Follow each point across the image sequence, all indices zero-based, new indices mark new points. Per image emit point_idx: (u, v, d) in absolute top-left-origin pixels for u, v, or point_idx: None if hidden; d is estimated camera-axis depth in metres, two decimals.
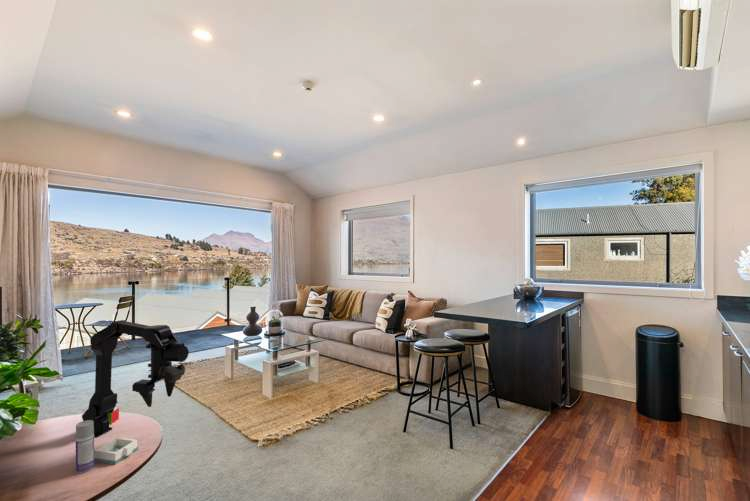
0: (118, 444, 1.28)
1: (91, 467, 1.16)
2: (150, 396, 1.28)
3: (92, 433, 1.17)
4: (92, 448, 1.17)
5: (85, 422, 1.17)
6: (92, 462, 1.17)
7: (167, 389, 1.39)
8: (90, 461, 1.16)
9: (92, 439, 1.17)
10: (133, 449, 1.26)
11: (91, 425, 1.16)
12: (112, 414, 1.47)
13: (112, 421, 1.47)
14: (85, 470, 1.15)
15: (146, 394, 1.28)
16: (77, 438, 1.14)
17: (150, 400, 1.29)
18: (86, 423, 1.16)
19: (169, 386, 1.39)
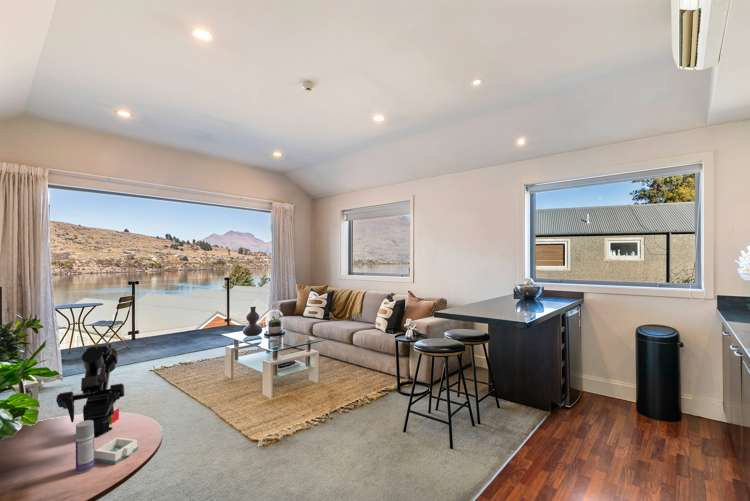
0: (118, 444, 1.28)
1: (91, 467, 1.16)
2: (69, 408, 1.22)
3: (92, 433, 1.17)
4: (92, 448, 1.17)
5: (85, 422, 1.17)
6: (92, 462, 1.17)
7: None
8: (90, 461, 1.16)
9: (92, 439, 1.17)
10: (133, 449, 1.26)
11: (91, 425, 1.16)
12: (112, 414, 1.47)
13: (112, 421, 1.47)
14: (85, 470, 1.15)
15: None
16: (77, 438, 1.14)
17: (70, 413, 1.21)
18: (86, 423, 1.16)
19: (107, 404, 1.28)
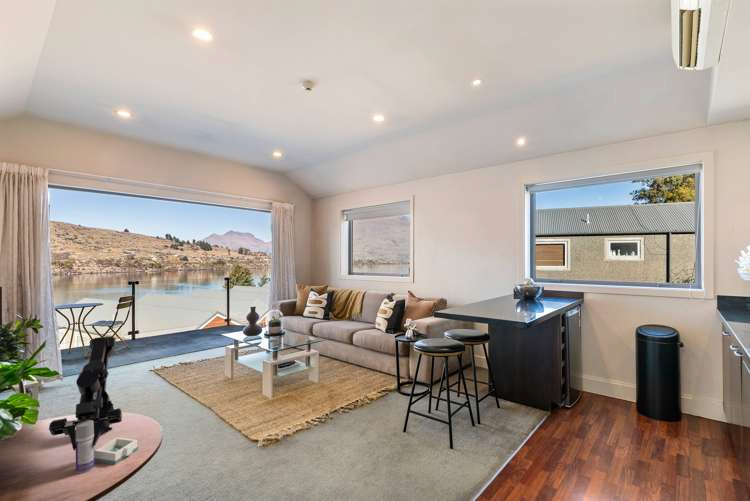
0: (118, 444, 1.28)
1: (91, 467, 1.16)
2: (71, 435, 1.15)
3: (92, 433, 1.17)
4: (92, 448, 1.17)
5: (85, 422, 1.17)
6: (92, 462, 1.17)
7: None
8: (90, 461, 1.16)
9: (92, 439, 1.17)
10: (133, 449, 1.26)
11: (91, 425, 1.16)
12: None
13: None
14: (85, 470, 1.15)
15: None
16: (77, 438, 1.14)
17: (72, 441, 1.15)
18: (86, 423, 1.16)
19: None
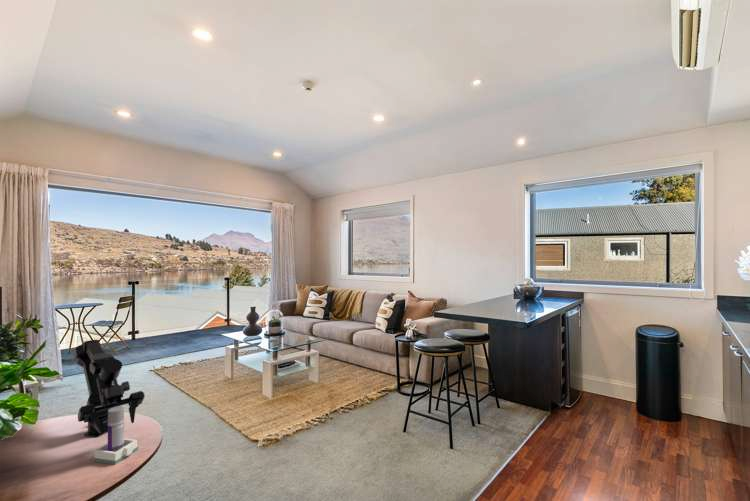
0: None
1: None
2: (95, 420, 1.21)
3: (123, 417, 1.25)
4: (123, 431, 1.25)
5: (115, 408, 1.25)
6: None
7: (130, 417, 1.28)
8: (122, 443, 1.25)
9: (123, 423, 1.25)
10: (133, 449, 1.26)
11: (123, 410, 1.25)
12: None
13: None
14: None
15: None
16: (111, 422, 1.22)
17: (97, 425, 1.20)
18: (118, 409, 1.24)
19: (130, 412, 1.29)
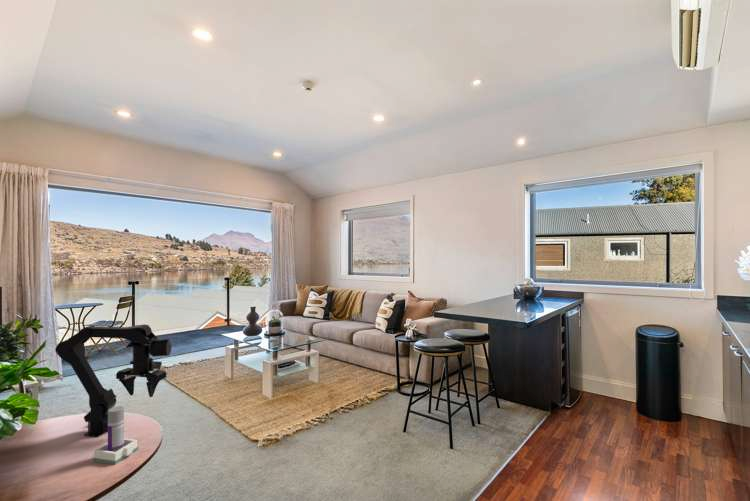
0: None
1: None
2: None
3: (123, 417, 1.25)
4: (123, 431, 1.25)
5: (115, 408, 1.25)
6: None
7: (130, 389, 1.43)
8: (122, 443, 1.25)
9: (123, 423, 1.25)
10: (133, 449, 1.26)
11: (123, 410, 1.25)
12: None
13: None
14: None
15: (153, 385, 1.42)
16: (111, 422, 1.22)
17: None
18: (118, 409, 1.24)
19: (131, 385, 1.44)
